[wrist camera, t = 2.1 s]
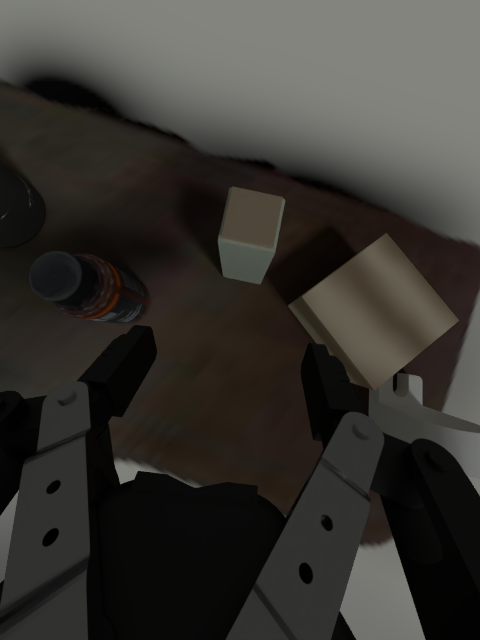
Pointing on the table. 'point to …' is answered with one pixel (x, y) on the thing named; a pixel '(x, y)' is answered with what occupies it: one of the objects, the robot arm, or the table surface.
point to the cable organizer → (424, 421)
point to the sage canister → (249, 234)
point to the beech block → (374, 313)
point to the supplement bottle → (88, 288)
